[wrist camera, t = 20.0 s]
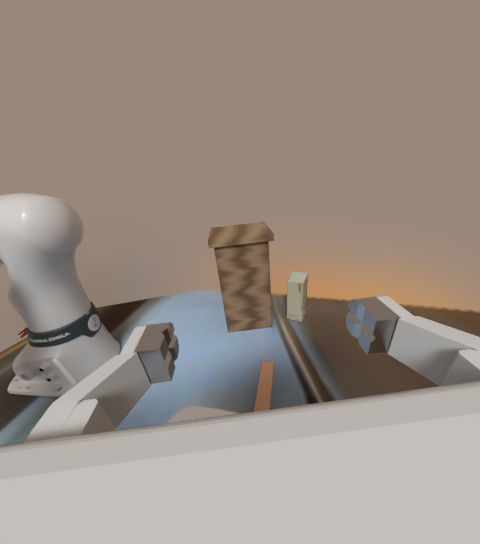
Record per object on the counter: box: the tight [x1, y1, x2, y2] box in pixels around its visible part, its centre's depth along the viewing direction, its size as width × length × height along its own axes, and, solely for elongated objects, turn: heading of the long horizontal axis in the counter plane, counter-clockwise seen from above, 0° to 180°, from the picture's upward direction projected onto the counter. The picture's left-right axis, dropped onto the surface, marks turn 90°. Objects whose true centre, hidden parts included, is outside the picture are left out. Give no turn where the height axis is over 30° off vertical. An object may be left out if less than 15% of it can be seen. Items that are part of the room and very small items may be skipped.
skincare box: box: [287, 272, 308, 322], centre depth 57 cm, size 6×4×12 cm
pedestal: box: [208, 222, 274, 332], centre depth 55 cm, size 14×12×26 cm
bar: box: [254, 361, 274, 412], centre depth 35 cm, size 2×21×2 cm, turn 167°
